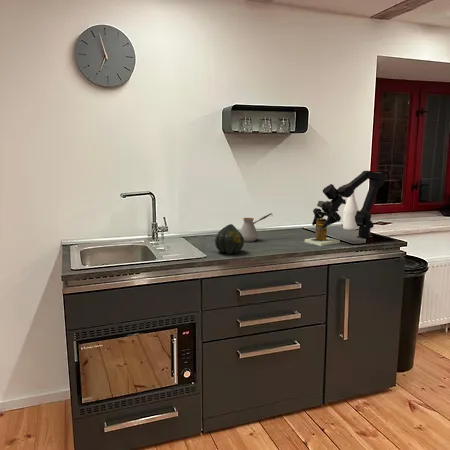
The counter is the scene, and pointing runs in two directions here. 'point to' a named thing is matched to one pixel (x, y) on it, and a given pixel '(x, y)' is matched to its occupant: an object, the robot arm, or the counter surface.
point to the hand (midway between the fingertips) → (317, 226)
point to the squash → (229, 240)
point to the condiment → (320, 231)
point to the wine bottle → (350, 214)
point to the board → (322, 243)
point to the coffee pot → (250, 229)
